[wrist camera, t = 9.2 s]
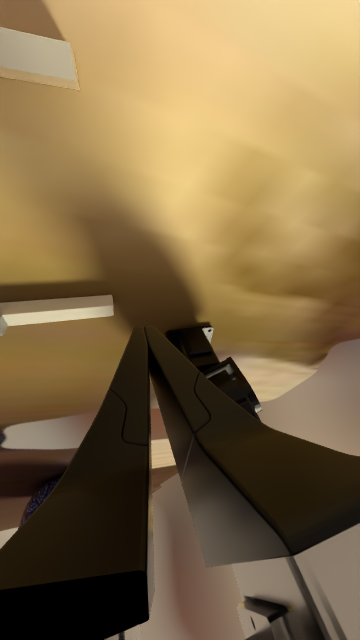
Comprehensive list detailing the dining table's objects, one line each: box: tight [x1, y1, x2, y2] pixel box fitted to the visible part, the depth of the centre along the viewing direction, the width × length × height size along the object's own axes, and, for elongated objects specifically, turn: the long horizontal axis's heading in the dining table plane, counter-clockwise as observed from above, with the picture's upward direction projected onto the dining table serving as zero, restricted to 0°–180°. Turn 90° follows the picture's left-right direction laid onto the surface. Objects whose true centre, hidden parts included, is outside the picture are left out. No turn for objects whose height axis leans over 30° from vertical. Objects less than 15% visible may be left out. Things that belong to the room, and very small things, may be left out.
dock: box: [0, 27, 114, 336], centre depth 14 cm, size 16×10×3 cm, turn 175°
